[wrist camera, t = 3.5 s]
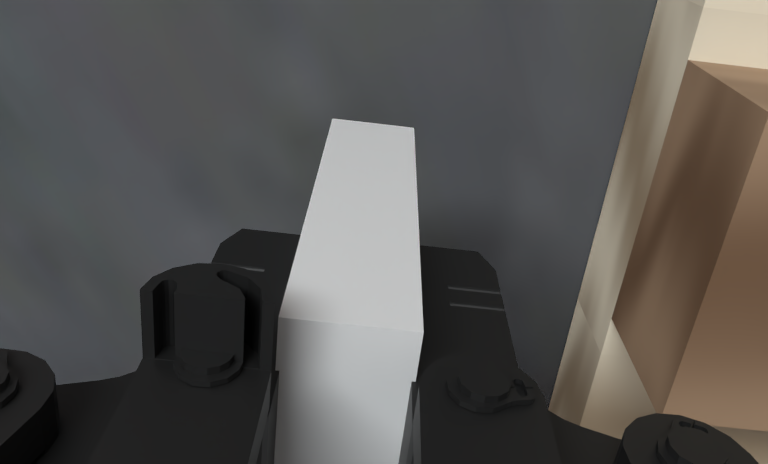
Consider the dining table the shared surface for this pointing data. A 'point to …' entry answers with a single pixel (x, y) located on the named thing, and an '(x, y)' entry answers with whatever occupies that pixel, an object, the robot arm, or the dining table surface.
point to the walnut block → (705, 255)
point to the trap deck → (626, 204)
